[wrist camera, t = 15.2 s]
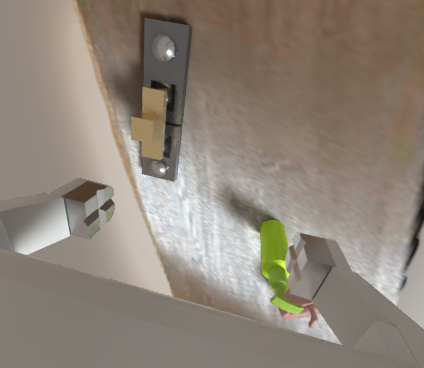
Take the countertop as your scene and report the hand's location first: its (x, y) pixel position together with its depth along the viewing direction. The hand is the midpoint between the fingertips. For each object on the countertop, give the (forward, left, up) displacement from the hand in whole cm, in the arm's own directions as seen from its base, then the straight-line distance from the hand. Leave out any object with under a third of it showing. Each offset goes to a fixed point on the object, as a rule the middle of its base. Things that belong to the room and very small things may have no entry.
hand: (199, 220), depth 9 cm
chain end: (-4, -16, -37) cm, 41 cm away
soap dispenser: (+26, +14, -37) cm, 48 cm away
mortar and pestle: (+41, +25, -37) cm, 61 cm away
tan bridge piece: (+5, -16, -37) cm, 41 cm away
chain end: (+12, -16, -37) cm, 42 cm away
